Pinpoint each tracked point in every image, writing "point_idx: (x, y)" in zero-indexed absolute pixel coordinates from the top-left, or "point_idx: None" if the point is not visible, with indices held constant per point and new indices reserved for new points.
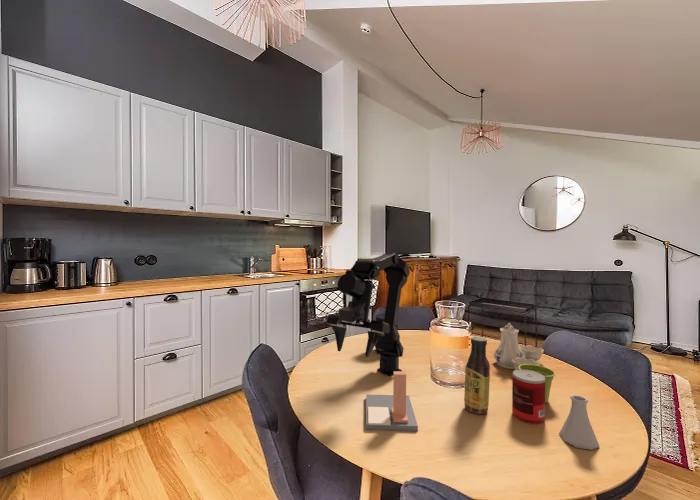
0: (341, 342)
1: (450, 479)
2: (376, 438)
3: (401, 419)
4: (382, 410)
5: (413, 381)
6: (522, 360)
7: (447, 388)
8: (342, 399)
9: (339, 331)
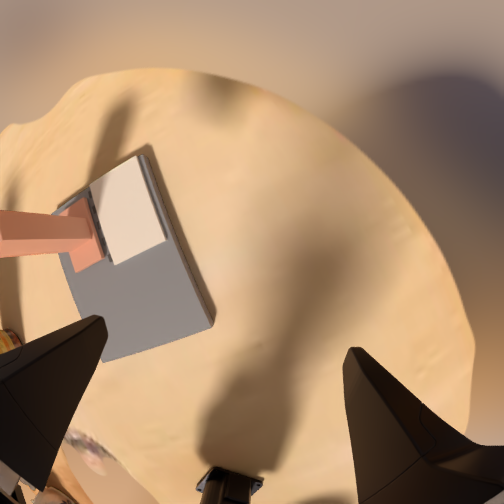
0: (360, 421)
1: (24, 124)
2: (118, 140)
3: (69, 210)
4: (121, 238)
5: (145, 451)
6: (31, 485)
7: (75, 426)
8: (285, 283)
9: (423, 481)
